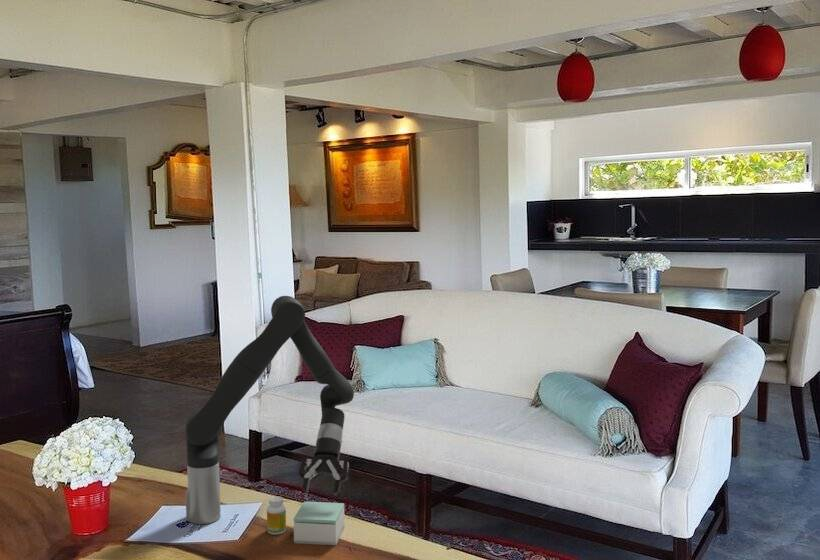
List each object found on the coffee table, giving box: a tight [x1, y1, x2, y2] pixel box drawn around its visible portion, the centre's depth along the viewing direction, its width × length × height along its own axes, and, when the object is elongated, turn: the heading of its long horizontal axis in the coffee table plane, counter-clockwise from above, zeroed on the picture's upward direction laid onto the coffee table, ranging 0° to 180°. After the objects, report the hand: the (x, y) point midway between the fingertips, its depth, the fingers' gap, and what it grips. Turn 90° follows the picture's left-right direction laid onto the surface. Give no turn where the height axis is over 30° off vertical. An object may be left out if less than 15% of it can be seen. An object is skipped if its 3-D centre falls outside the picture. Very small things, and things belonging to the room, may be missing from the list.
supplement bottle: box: [266, 495, 287, 535], centre depth 219 cm, size 5×5×10 cm
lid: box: [293, 501, 345, 523], centre depth 216 cm, size 12×12×1 cm
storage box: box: [293, 506, 345, 546], centre depth 217 cm, size 12×12×6 cm
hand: (320, 493), depth 217 cm, fingers open, 8 cm apart
